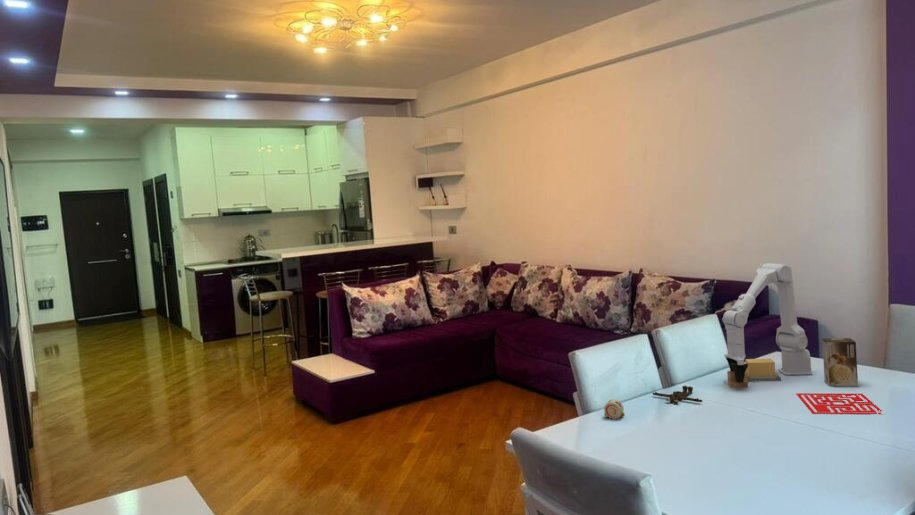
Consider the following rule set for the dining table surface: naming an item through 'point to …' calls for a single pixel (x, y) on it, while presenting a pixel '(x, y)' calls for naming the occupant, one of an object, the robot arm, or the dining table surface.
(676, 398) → the brown crossed rod frame
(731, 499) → the dining table surface
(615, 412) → the cinnamon roll
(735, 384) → the walnut block
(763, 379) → the base plate
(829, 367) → the coffee box
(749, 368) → the brick
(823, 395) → the maze puzzle
